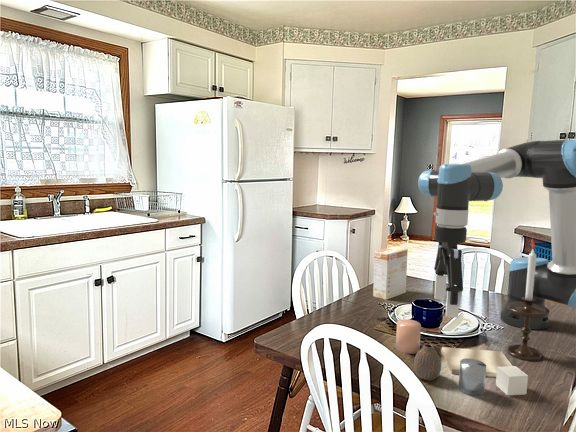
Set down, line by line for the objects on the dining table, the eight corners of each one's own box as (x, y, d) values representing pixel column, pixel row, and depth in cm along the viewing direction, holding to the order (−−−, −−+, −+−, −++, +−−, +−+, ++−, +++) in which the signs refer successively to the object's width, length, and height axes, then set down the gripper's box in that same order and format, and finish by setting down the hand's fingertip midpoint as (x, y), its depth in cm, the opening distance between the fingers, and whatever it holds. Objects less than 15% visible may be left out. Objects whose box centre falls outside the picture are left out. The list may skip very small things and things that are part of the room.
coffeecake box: (392, 289, 193) (394, 246, 190) (406, 292, 187) (408, 248, 185) (372, 296, 182) (373, 250, 180) (386, 300, 177) (388, 253, 175)
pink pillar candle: (417, 344, 135) (419, 320, 134) (421, 354, 128) (422, 328, 127) (394, 342, 136) (395, 318, 135) (396, 352, 130) (398, 327, 128)
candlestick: (497, 345, 135) (506, 235, 130) (532, 346, 135) (542, 235, 130) (514, 362, 124) (524, 242, 119) (552, 363, 124) (564, 242, 119)
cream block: (513, 384, 112) (515, 366, 112) (526, 394, 107) (528, 375, 107) (495, 385, 112) (497, 366, 111) (507, 395, 107) (509, 376, 106)
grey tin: (480, 385, 111) (482, 359, 111) (487, 397, 106) (489, 370, 105) (456, 383, 112) (457, 357, 111) (461, 395, 106) (463, 368, 106)
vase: (409, 371, 118) (411, 340, 117) (433, 370, 119) (435, 339, 118) (419, 384, 112) (420, 351, 110) (445, 383, 112) (447, 351, 111)
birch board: (501, 355, 128) (501, 351, 128) (518, 378, 115) (519, 374, 115) (441, 350, 131) (441, 347, 131) (451, 373, 117) (452, 369, 117)
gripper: (426, 218, 122) (421, 292, 124) (446, 233, 97) (440, 324, 100) (454, 219, 121) (449, 293, 123) (481, 234, 96) (474, 326, 99)
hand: (445, 307), depth 111 cm, fingers open, 13 cm apart
